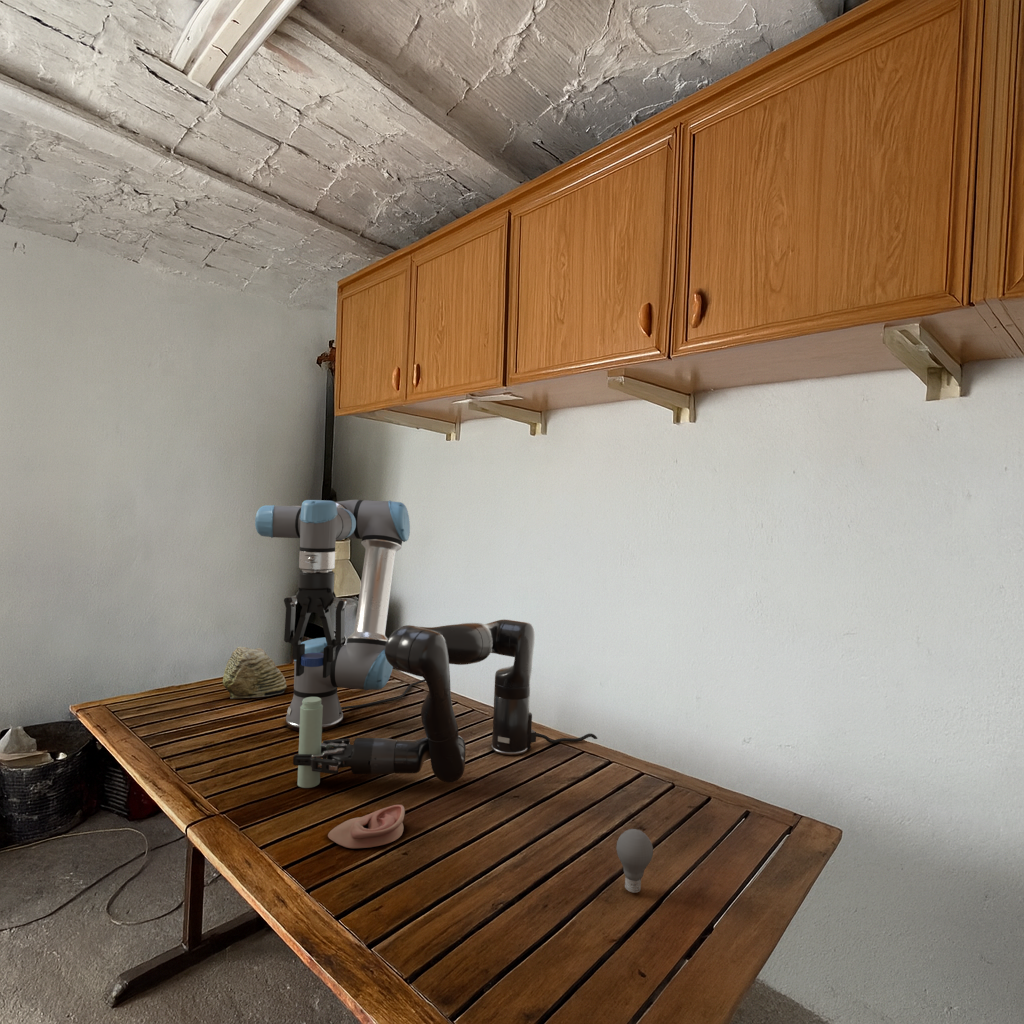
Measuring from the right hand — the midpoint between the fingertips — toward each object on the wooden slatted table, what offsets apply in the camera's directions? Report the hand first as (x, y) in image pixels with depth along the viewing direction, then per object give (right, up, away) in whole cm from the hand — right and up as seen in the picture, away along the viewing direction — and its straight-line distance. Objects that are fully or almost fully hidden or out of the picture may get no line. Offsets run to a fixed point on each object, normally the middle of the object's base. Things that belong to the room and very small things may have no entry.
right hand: (297, 754), depth 139 cm
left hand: (+3, +17, 0) cm, 18 cm away
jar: (+2, -6, 0) cm, 7 cm away
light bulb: (+67, -10, -34) cm, 76 cm away
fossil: (-33, -4, +59) cm, 67 cm away
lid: (+4, +21, 0) cm, 22 cm away
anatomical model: (+20, -8, -20) cm, 29 cm away
